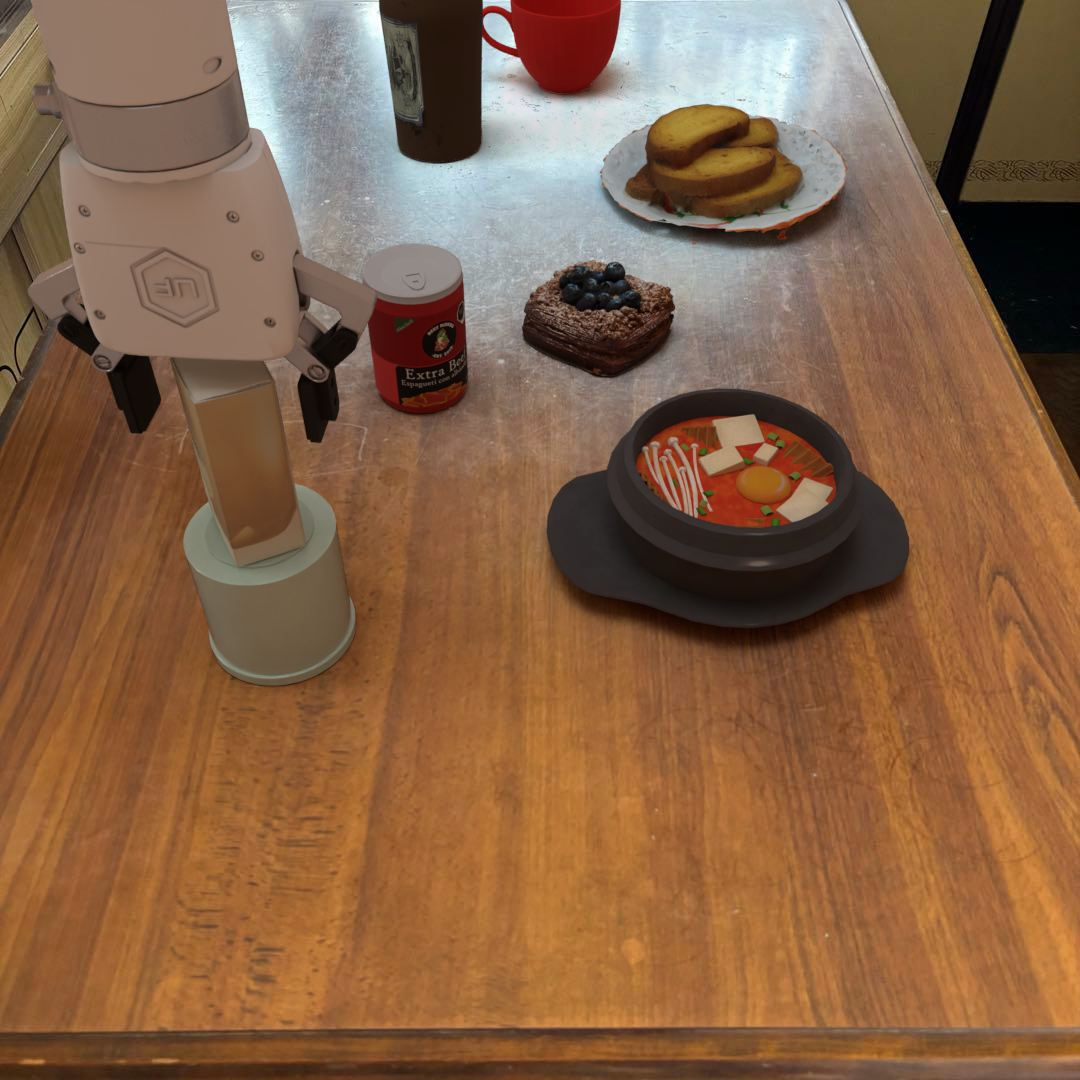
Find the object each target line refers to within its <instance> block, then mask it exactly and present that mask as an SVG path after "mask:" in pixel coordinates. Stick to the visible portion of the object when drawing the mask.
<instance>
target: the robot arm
mask: <svg viewBox="0 0 1080 1080" xmlns="http://www.w3.org/2000/svg"><path fill="white" fill-rule="evenodd" d="M30 3H31V7H32V10H33V13H34V16H35V20H36V23H37V26H38V30H39V32H40V36H41V39H42V43H43V46H44V49H45V53H46V57H47V60H48V62H49V66H50V69H51V73H52V76H53V78H54V79H53V80H51V81H50V82H35V84H34V85H33V89H32V101H33V105H34V108H35V110H36V112H37V113H38V114H39V115H40V116H53V117H55V118H56V119H60V120H62V122H63V124H64V128H65V130H66V134H67V137H68V140H69V143H67V144H66V145H65V146H64V147H63V148H62V149H61V150H60V152H59V155H58V156H59V157H58V158H59V161H58V162H59V177H60V186H61V195H62V196H61V197H62V202H63V212H64V219H65V225H66V232H67V239H68V243H69V247H70V253H71V257H69V258H68V259H66V260H64V261H62V262H59V263H58V264H56V265H54V266H53V267H51V268H48V269H47V270H45V271H43V272H40V273H39V274H38V275H37V276H36V278H35V279H34V280H33V281H32V283H31V284H30V285H29V287H28V288H27V291H26V292H27V295H28V297H29V299H30V300H32V301H33V302H34V304H35V305H36V306H37V307H38V308H39V309H40V310H41V311H42V312H43V314H44V315H46V317H47V318H48V319H49V320H50V322H54V323H55V324H56V325H57V327H56V329H57V332H58V333H59V335H60V336H62V337H63V338H64V339H65V340H67V341H68V342H70V343H71V344H73V345H74V346H76V348H78V349H79V350H81V351H82V352H84V353H86V355H88V356H90V364H91V365H92V366H93V368H95V369H96V370H97V371H99V372H101V373H105V374H106V377H107V380H108V383H109V386H110V389H111V392H112V395H113V398H114V400H115V404H116V407H117V409H118V410H119V411H122V412H123V415H124V417H125V422H126V424H127V427H128V430H129V432H130V434H133V435H143V433H144V432H146V431H147V430H148V428H149V426H150V425H151V423H152V421H153V418H154V417H155V415H156V413H157V412H158V410H159V408H160V406H161V404H162V395H161V392H160V388H159V385H158V383H157V379H156V375H155V372H154V369H153V365H152V362H151V358H152V357H154V358H169V357H171V358H191V359H212V360H236V361H264V362H269V361H275V360H279V359H282V358H285V360H287V361H288V362H289V363H290V364H291V365H292V366H293V367H295V368H296V369H297V370H298V371H299V372H300V376H299V378H298V380H297V386H296V388H297V394H298V399H299V405H300V411H301V415H302V421H303V426H304V431H305V436H306V440H307V441H309V442H310V443H313V444H321V443H322V442H323V439H324V436H325V434H326V430H327V428H328V424H329V422H336V421H337V419H338V416H339V413H340V395H339V388H338V383H337V382H338V381H337V376H336V370H335V368H337V366H339V365H340V364H342V362H343V361H344V360H345V359H347V358H348V357H349V356H350V355H351V354H352V353H353V352H354V351H355V350H356V349H357V346H358V344H359V341H360V339H361V337H362V336H363V333H364V332H365V329H366V328H367V326H368V321H369V319H370V317H371V315H372V313H373V310H374V307H375V304H376V301H377V293H376V292H375V291H374V290H373V289H372V288H370V287H368V286H365V285H363V283H361V282H359V281H357V280H355V279H353V278H351V277H349V276H346V275H344V274H342V273H340V272H338V271H336V270H334V269H332V268H330V267H327V266H326V265H323V264H322V263H319V262H317V261H315V260H313V259H311V258H309V257H306V256H305V255H304V251H303V247H302V243H301V238H300V235H299V231H298V227H297V223H296V219H295V215H294V213H293V208H292V206H291V202H290V199H289V196H288V193H287V190H286V187H285V184H284V182H283V178H282V176H281V173H280V170H279V167H278V164H277V162H276V160H275V157H274V155H273V153H272V150H271V148H270V146H269V143H268V141H267V139H266V136H265V134H264V133H263V131H262V130H261V129H259V128H256V127H250V122H249V117H248V112H247V107H246V101H245V96H244V90H243V85H242V80H241V75H240V70H239V64H238V57H237V53H236V46H235V42H234V35H233V29H232V25H231V20H230V19H231V18H230V14H229V9H228V3H227V0H30ZM78 291H80V295H81V299H82V303H80V302H78V300H79V299H78V298H77V297H76V296H75V295H74V294H75V293H77V292H78ZM311 299H313V300H315V301H317V302H319V303H321V304H324V305H326V306H328V307H330V308H332V309H335V310H336V311H337V312H338V313H339V314H340V317H341V318H340V319H339V320H337V321H336V322H335V323H334V324H333V325H332V326H331V327H330V328H329V329H328V328H327V327H326V326H325V325H324V324H323V323H322V322H320V321H319V320H318V319H317V318H316V317H315V315H313V314H312V313H311V312H310V311H308V310H309V309H310V306H311ZM150 357H151V358H150Z"/></svg>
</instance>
